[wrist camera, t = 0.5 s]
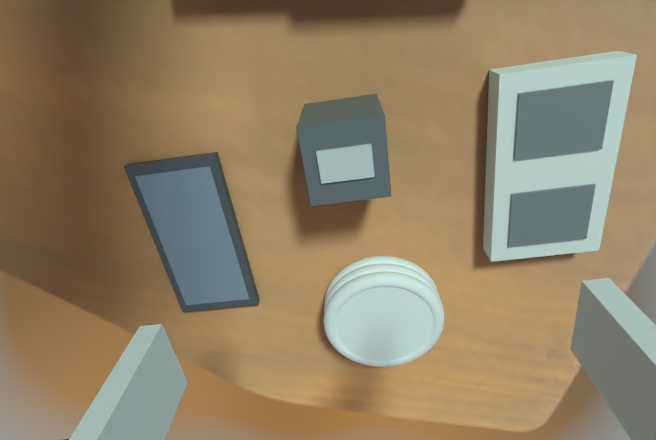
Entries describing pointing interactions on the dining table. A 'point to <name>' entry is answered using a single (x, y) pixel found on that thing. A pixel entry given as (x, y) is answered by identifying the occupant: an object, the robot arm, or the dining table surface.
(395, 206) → the dining table surface
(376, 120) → the block
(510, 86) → the plate
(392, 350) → the coaster
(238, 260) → the phone
